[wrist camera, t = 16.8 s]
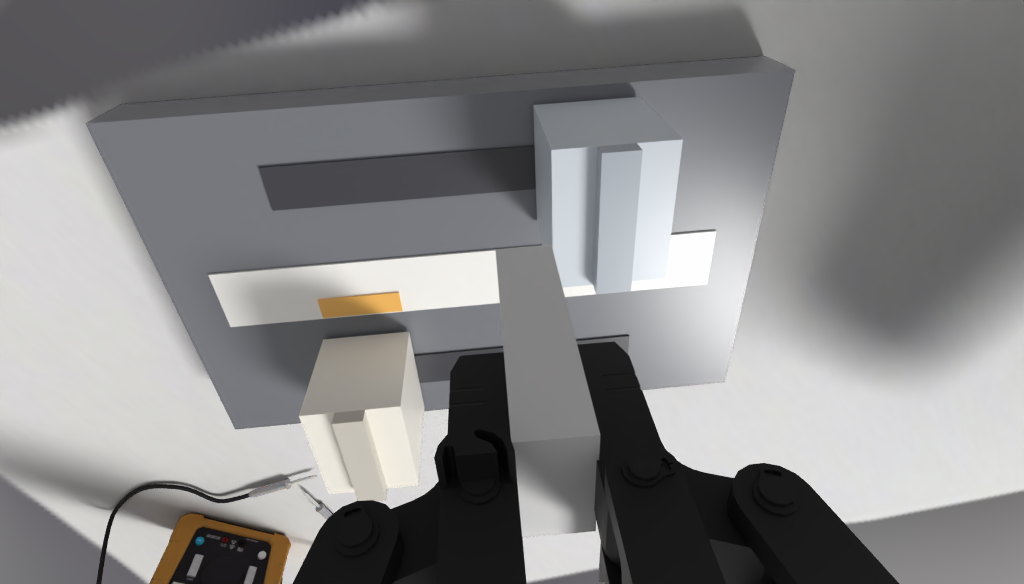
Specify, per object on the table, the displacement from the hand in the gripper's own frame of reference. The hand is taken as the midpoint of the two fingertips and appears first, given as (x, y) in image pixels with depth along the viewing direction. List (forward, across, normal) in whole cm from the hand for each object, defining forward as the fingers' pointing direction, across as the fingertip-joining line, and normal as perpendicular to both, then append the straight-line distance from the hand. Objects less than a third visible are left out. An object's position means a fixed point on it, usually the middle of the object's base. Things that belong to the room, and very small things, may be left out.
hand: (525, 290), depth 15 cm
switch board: (+11, +2, +5) cm, 12 cm away
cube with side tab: (+8, -3, 0) cm, 9 cm away
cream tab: (+8, +7, +10) cm, 14 cm away
